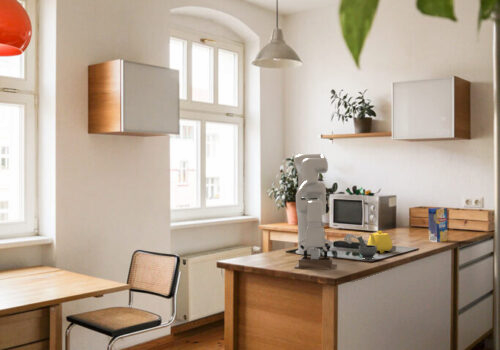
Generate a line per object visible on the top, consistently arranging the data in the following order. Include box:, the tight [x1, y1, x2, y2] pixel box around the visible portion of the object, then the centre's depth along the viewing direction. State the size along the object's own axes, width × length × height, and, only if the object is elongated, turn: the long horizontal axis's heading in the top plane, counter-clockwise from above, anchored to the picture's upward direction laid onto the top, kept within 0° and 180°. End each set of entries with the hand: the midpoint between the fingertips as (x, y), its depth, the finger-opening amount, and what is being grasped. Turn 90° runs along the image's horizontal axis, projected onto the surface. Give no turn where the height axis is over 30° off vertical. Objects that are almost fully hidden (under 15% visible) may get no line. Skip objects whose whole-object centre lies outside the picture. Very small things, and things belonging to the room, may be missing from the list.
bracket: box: [343, 233, 368, 245], centre depth 338 cm, size 3×21×10 cm, turn 49°
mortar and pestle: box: [356, 236, 378, 259], centre depth 284 cm, size 11×9×12 cm
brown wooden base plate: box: [294, 256, 337, 270], centre depth 263 cm, size 12×20×4 cm, turn 77°
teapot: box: [366, 230, 393, 254], centre depth 306 cm, size 13×20×12 cm
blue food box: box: [427, 207, 448, 243], centre depth 348 cm, size 7×11×22 cm, turn 124°
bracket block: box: [310, 247, 321, 260], centre depth 263 cm, size 6×4×9 cm, turn 167°
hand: (315, 258), depth 263 cm, fingers open, 9 cm apart
